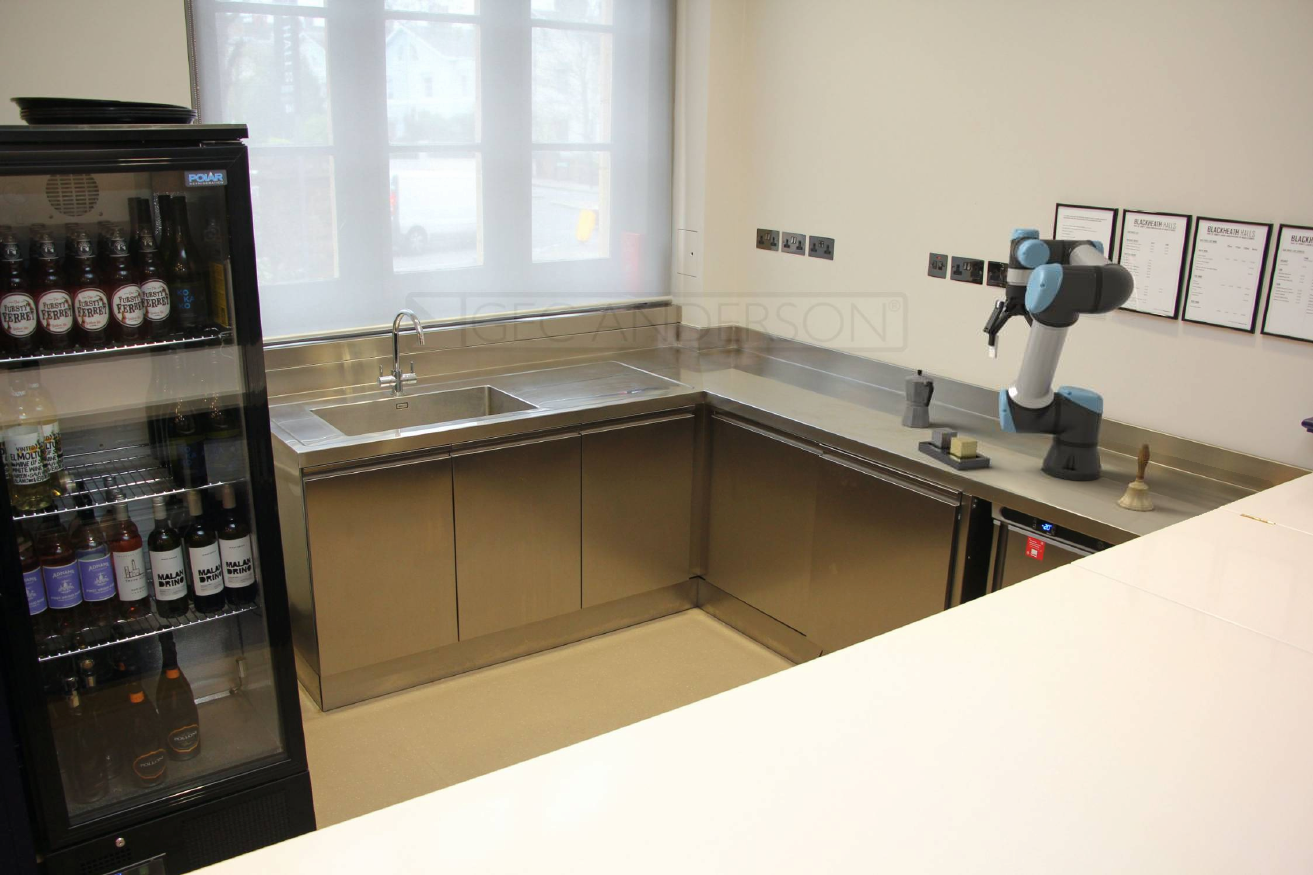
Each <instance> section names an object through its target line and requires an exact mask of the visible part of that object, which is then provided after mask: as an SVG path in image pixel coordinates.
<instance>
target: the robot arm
mask: <svg viewBox="0 0 1313 875" xmlns="http://www.w3.org/2000/svg"><path fill="white" fill-rule="evenodd" d="M1006 281H1007V283H1006V285H1005V299H1004V300H1005V301H1003V300H999V299H997V300H995V304H994V308H993V310H992V312H991V314H990V316H989V318H988V320H987V322H986V324H985V326H984V327H983V330H982V331H983V333H986V334H988V342H987V344H988V345H987V346H989V349H988V350H989V351H988V352H989V353H988V357H990V358H993V359H997V357H998V350H999V349H998V348H999V339H1000V336H999V335H998V333H999V332H1000V331H1001V329H1002V328H1004V326H1005V325H1006V323H1007V322H1008V321H1009V320H1010V319H1012V318H1013V317H1018V316H1020V317H1021V316H1022V317H1024V319H1025V321H1026V322H1027V325H1029V327H1030V330H1029V335H1028V338H1027V342H1026V345H1025V349H1024V353H1023V357H1022V360H1021V363H1020V364H1021V365H1020V368H1019V372H1018V376H1017V379H1015V380H1013V381H1012V382H1011V383H1010V384H1009V386H1008V389H1002V390H1001V391H1000V392H999V397H998V414H999V415H998V416H999V424H1000V428H1001V430H1002V431H1003V432H1005V433H1011V434H1015V435H1019V434H1021V435H1024V434H1026V435H1048V436H1052V438H1051V439H1052V440H1051V442H1050V443H1051V444H1050V446H1049V449H1048V451H1047V453H1046V455H1045V457H1044V458H1043V460H1042V464H1041V470H1042V472H1044V473H1045V474H1047V475H1049V476H1052V477H1055V478H1060V479H1064V480H1072V481H1094V480H1097V479H1099V478H1101V476H1102V470H1103V467H1102V464H1101V459H1100V452H1099V449H1098V448H1099V440H1100V435H1101V434H1100V433H1101V427H1102V425H1101V424H1102V420H1103V414H1104V398H1103V396H1101V394H1099V393H1098V392H1095V391H1092V390H1090V389H1087V388H1086V389H1085V388H1082V387H1076V386H1071V385H1061V386H1059V387H1058V389H1057V391H1054V390H1053V388H1052V384H1053V380H1054V378H1055V375H1056V371H1057V367H1058V365H1059V360H1060V358H1061V354H1062V350H1063V348H1064V345H1065V342H1066V339H1067V336H1068V331H1069V329H1070V327H1072V326H1074V325H1075V324H1076V323H1077V322H1078V321H1079V318H1080V315H1103V314H1107V313H1111V312H1113V311H1116V310H1118V309H1119V308H1121V307H1122V306H1124V305H1125V303H1127V302H1128V300H1129V299H1130V298H1131V297H1132V294H1133V292H1134V288H1135V282H1134V278H1133V275H1132V274H1131V272H1130V271H1129V270H1128V269H1127V268H1126V267H1125V266H1124V265H1121V264H1119V263H1116V262H1115V263H1114V262H1112V261H1111V260H1110V259H1108V258H1107V257H1106V256H1105V248H1104V244H1103V242H1102V241H1100V240H1092V239H1085V240H1084V239H1052V238H1051V239H1047V238H1046V239H1045V238H1041V239H1040V231H1039V230H1038V229H1036V228H1015V229H1012V232H1011V239H1010V245H1009V256H1008V267H1007V275H1006Z"/></svg>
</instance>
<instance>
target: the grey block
mask: <svg viewBox="0 0 1313 875" xmlns="http://www.w3.org/2000/svg"><path fill="white" fill-rule="evenodd" d="M953 437H958V431H956V430H955V429H951V428H950V427H936V428H935V427H934V428H932V429H931V440H930V441H931V446H933V447H935V448H937V449H939V450H942V449H951V439H952V438H953Z"/></svg>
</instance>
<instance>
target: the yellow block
mask: <svg viewBox="0 0 1313 875" xmlns="http://www.w3.org/2000/svg"><path fill="white" fill-rule="evenodd" d="M977 450H978V440H977V439H974V438H972V437H970V436H966V435H965V436H957V437H953V438H952V439H951V449H950V455H952V456H954V457H956V458H958V459H960V460H963V459H973V458H976V452H977ZM977 453H978V452H977Z"/></svg>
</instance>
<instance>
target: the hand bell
mask: <svg viewBox="0 0 1313 875" xmlns="http://www.w3.org/2000/svg"><path fill="white" fill-rule="evenodd" d="M1150 455H1151V454H1150V446H1149V444H1147V443H1144V444H1143V443H1142V446H1141V447H1140V450H1139V451H1138V454H1137V466H1138V467H1137V473H1136V478H1135V481H1133V482H1130V483H1128V487H1127V489H1126V492H1125V494H1123V496H1122V497H1121V498H1119V499H1118V501H1117V503H1116V504H1118V506H1119V507H1122V508H1124V509H1127V510H1131V511H1137V512H1149V511H1150V512H1151V511H1153V510H1154V504H1153V503H1152V502H1151V500H1150V497H1149V486H1148V485H1147V484H1146V483H1144V480H1145V472H1146V467H1147V466H1148V464H1149V460H1150V457H1151V456H1150Z"/></svg>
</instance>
